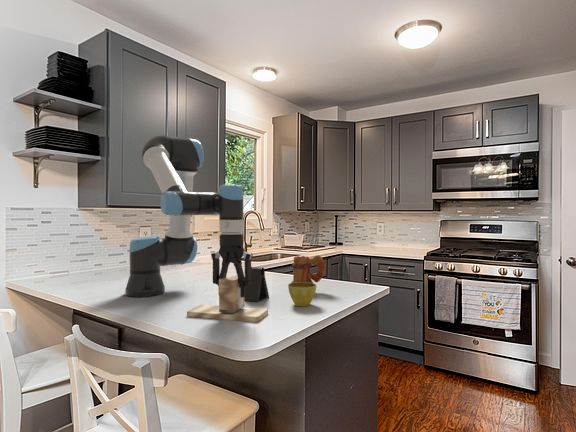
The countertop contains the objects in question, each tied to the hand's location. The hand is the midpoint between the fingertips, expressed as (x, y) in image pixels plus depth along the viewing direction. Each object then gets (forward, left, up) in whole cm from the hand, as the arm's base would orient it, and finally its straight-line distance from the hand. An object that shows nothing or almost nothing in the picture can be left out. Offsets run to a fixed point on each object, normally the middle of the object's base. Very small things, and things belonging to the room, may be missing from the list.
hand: (232, 306), depth 113 cm
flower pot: (+18, +19, -3) cm, 26 cm away
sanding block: (0, 0, -1) cm, 1 cm away
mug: (+15, +41, -3) cm, 44 cm away
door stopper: (-1, +23, -3) cm, 23 cm away
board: (-2, 0, -3) cm, 3 cm away
